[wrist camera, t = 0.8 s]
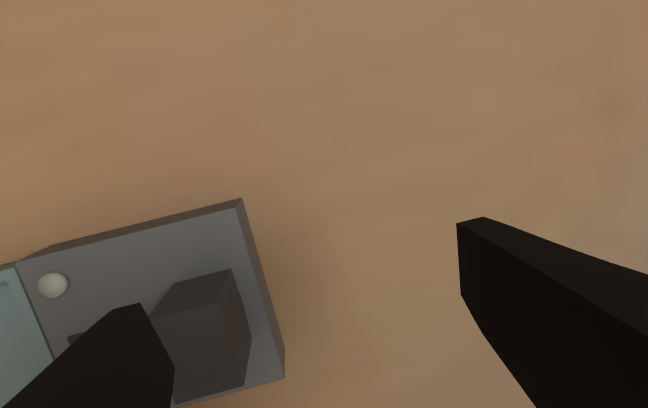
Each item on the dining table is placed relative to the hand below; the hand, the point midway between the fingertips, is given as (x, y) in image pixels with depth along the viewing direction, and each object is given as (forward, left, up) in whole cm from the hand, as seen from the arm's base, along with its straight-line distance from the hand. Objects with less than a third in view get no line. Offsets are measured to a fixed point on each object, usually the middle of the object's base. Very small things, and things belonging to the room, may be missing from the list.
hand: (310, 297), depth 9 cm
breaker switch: (-4, +6, -11) cm, 13 cm away
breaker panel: (-4, +9, -14) cm, 17 cm away
